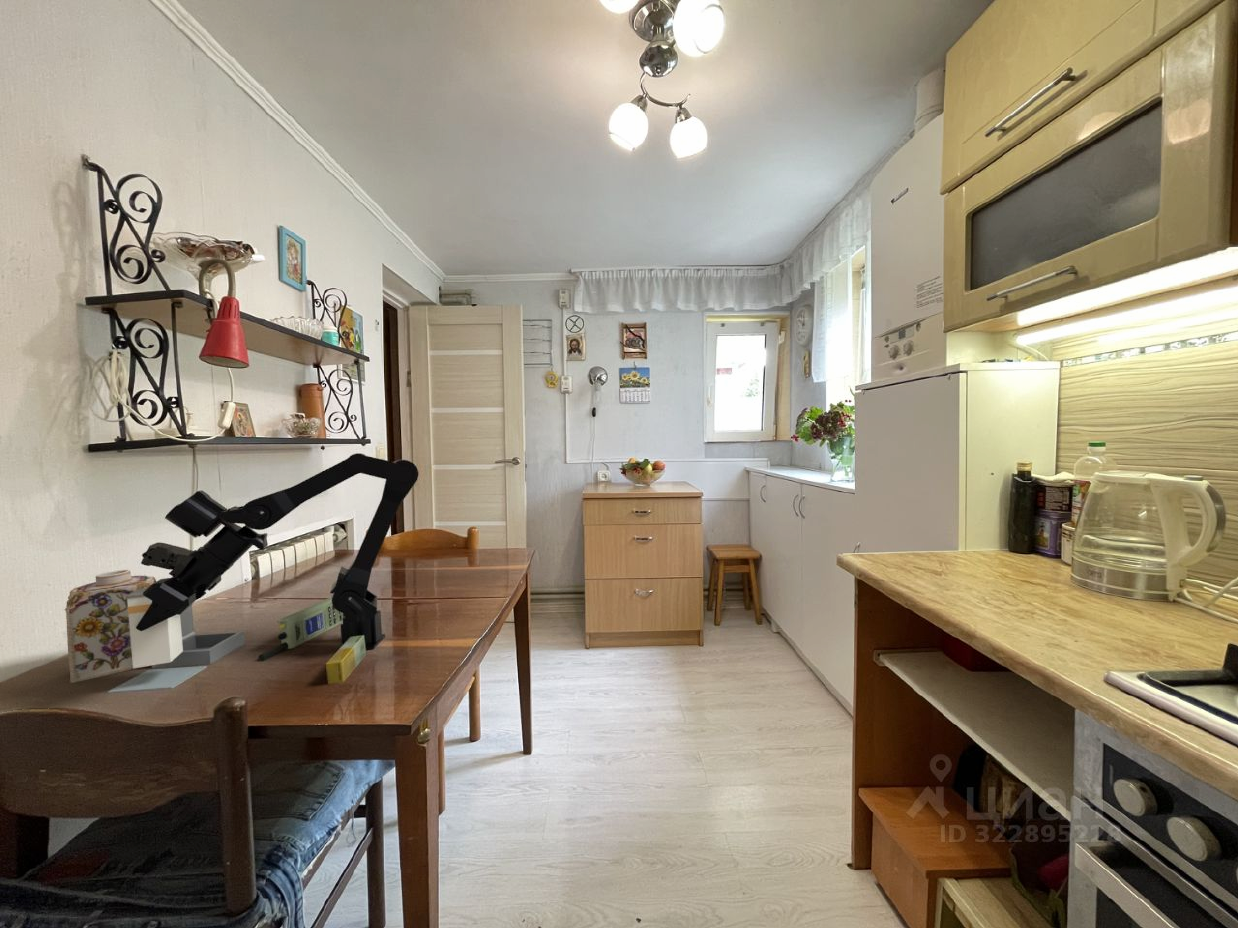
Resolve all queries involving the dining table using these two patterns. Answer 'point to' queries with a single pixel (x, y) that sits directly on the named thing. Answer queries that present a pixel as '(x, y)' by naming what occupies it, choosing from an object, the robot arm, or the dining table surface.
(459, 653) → the dining table surface
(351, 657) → the medication box
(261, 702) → the dining table surface
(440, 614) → the dining table surface
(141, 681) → the pad
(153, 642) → the block
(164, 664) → the case
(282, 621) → the handheld radio
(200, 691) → the dining table surface
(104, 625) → the decorative jar
